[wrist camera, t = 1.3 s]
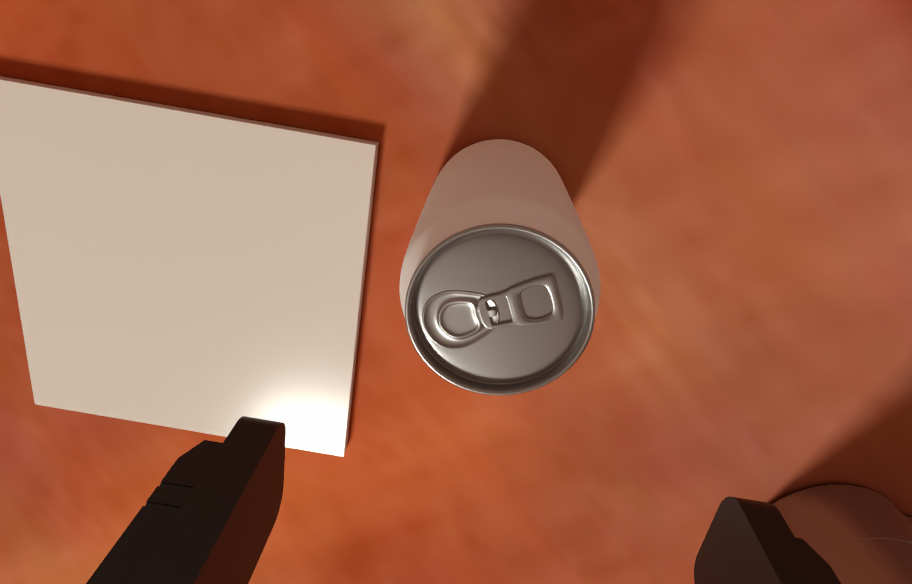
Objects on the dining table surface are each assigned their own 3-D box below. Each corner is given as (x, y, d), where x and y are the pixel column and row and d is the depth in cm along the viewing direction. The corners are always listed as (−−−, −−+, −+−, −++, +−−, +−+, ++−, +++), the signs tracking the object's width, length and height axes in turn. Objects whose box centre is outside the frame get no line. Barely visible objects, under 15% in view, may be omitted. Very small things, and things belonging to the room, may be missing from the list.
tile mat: (378, 142, 27) (375, 145, 27) (346, 447, 35) (343, 456, 34) (-6, 75, 27) (-19, 76, 26) (44, 396, 35) (35, 404, 34)
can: (413, 157, 28) (359, 241, 17) (549, 119, 26) (588, 182, 16) (451, 281, 30) (426, 424, 19) (577, 250, 29) (627, 384, 18)
